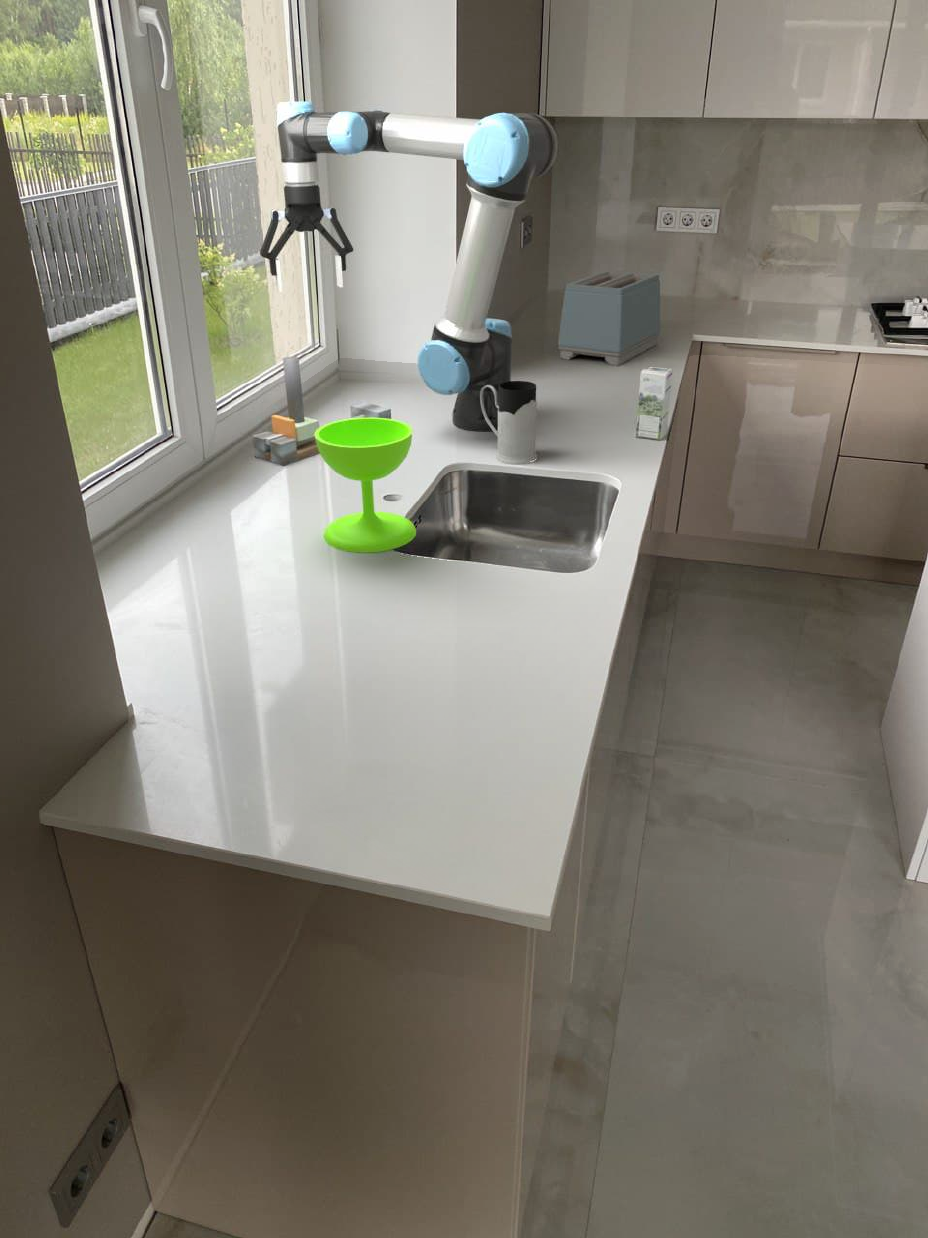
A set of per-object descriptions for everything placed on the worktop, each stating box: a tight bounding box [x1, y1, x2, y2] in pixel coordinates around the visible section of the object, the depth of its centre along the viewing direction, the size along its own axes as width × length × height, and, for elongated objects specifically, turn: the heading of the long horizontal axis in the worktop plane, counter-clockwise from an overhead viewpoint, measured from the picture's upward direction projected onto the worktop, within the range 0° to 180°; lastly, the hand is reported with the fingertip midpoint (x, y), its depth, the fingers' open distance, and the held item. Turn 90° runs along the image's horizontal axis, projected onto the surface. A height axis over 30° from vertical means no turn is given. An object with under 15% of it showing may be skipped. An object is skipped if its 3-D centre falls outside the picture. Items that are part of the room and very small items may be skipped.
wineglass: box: [314, 418, 417, 554], centre depth 159 cm, size 16×16×18 cm
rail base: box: [252, 401, 392, 467], centre depth 206 cm, size 9×32×4 cm, turn 140°
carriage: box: [282, 356, 320, 442], centre depth 197 cm, size 7×6×16 cm
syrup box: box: [635, 366, 673, 441], centre depth 205 cm, size 6×6×14 cm
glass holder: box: [480, 380, 538, 465], centre depth 195 cm, size 9×14×15 cm, turn 48°
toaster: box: [557, 269, 661, 367], centre depth 274 cm, size 19×35×20 cm, turn 149°
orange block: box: [265, 414, 297, 445], centre depth 196 cm, size 6×5×4 cm
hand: (310, 288), depth 211 cm, fingers open, 13 cm apart
